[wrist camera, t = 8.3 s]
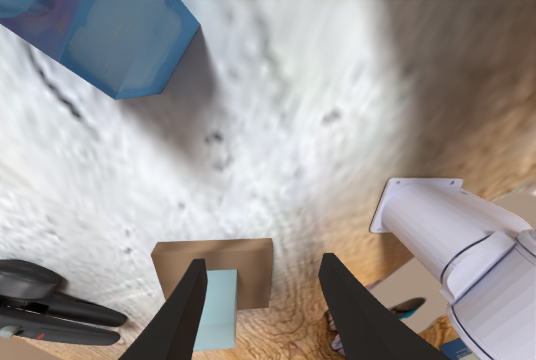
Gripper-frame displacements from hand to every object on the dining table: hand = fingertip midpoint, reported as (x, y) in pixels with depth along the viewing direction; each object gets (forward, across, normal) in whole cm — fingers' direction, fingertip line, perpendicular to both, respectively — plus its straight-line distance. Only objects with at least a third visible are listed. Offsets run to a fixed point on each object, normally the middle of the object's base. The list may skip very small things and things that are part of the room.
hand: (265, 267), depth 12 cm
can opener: (+11, +25, +17) cm, 32 cm away
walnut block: (+11, +5, +14) cm, 18 cm away
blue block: (+8, +5, +14) cm, 17 cm away
